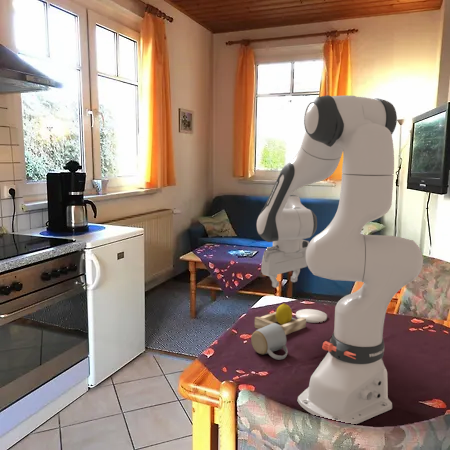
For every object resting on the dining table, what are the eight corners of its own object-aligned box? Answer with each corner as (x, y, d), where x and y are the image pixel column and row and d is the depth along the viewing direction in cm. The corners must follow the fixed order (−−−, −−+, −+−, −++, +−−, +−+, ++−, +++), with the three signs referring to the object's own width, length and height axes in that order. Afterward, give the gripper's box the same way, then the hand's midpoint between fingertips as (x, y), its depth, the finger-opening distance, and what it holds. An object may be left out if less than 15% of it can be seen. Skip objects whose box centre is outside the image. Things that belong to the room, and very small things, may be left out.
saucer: (314, 325, 145) (314, 322, 145) (289, 316, 153) (289, 313, 153) (333, 317, 152) (333, 315, 152) (308, 309, 160) (308, 307, 160)
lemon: (292, 329, 142) (293, 306, 140) (276, 329, 142) (276, 306, 140) (290, 323, 147) (291, 300, 146) (274, 322, 147) (275, 300, 146)
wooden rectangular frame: (279, 337, 135) (279, 327, 134) (254, 327, 143) (254, 317, 142) (307, 326, 144) (307, 316, 144) (282, 317, 152) (282, 308, 152)
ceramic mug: (248, 350, 126) (249, 325, 124) (268, 343, 131) (269, 319, 129) (274, 364, 117) (275, 338, 116) (294, 356, 122) (295, 331, 121)
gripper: (271, 249, 131) (270, 292, 133) (312, 241, 144) (310, 280, 147) (257, 246, 136) (256, 287, 138) (297, 238, 149) (296, 276, 151)
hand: (284, 284), depth 142 cm, fingers open, 8 cm apart
